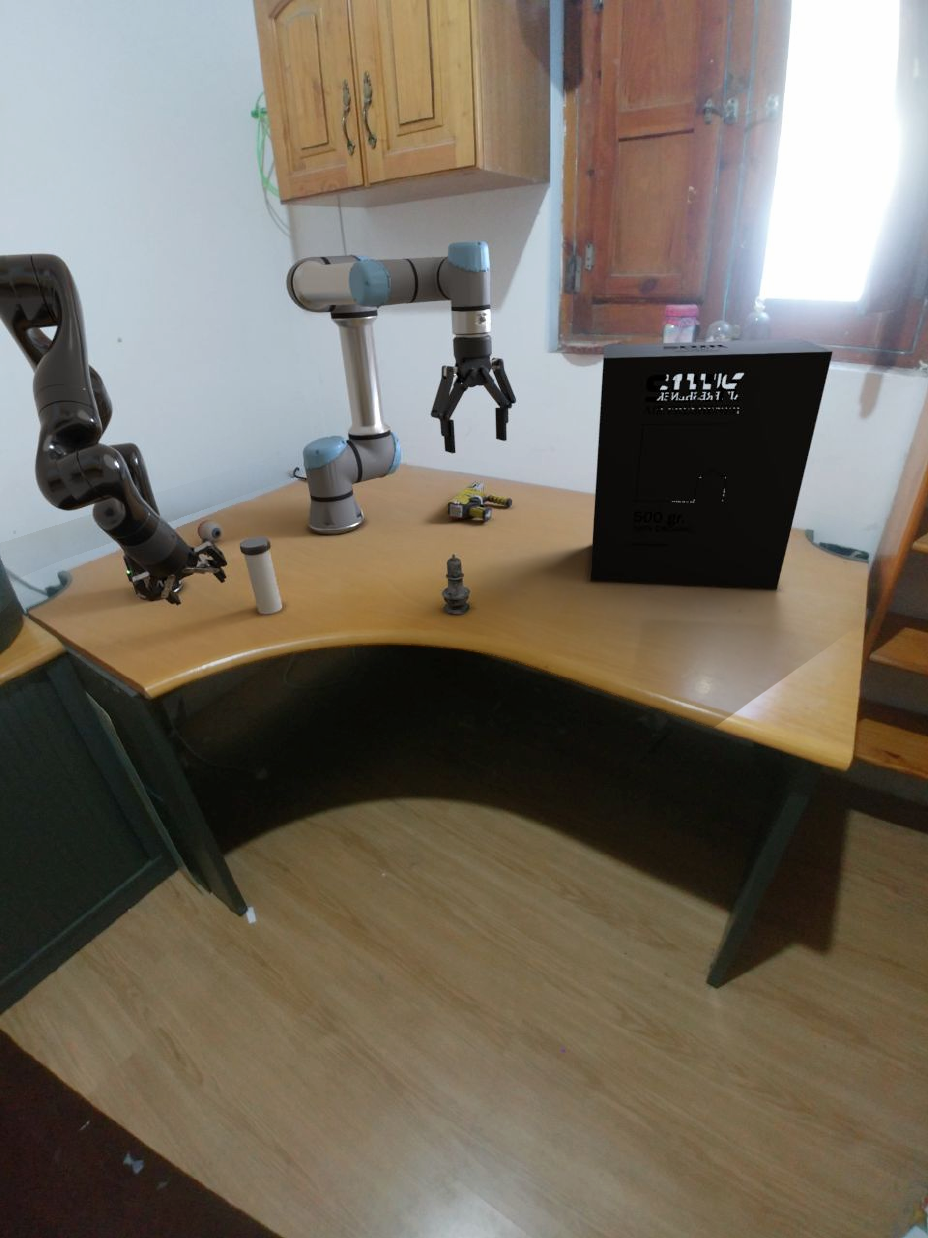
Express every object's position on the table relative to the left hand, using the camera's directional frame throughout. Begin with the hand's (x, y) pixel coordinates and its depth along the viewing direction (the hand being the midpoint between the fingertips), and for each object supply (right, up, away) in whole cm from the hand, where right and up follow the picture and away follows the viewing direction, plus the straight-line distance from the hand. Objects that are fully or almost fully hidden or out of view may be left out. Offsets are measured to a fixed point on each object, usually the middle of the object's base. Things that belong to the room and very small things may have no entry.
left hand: (200, 589), depth 109 cm
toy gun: (+54, +27, +66) cm, 89 cm away
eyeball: (-20, +15, +54) cm, 60 cm away
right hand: (+50, +31, +19) cm, 62 cm away
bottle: (+6, -3, +20) cm, 21 cm away
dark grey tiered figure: (+46, -3, +15) cm, 49 cm away
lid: (+6, +10, +12) cm, 17 cm away
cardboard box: (+96, +7, +28) cm, 100 cm away
